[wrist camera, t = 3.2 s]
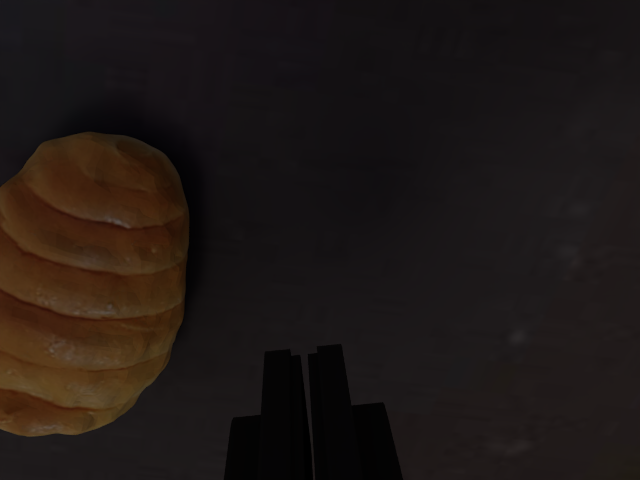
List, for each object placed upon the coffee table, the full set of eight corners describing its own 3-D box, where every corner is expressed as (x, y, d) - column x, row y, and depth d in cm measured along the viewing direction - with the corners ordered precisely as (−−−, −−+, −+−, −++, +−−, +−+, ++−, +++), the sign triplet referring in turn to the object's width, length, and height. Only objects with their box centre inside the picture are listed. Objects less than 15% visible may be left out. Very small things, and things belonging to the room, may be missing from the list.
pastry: (18, 78, 14) (-67, 107, 10) (246, 175, 15) (239, 227, 12) (-40, 333, 17) (-119, 418, 14) (152, 389, 19) (125, 476, 16)
